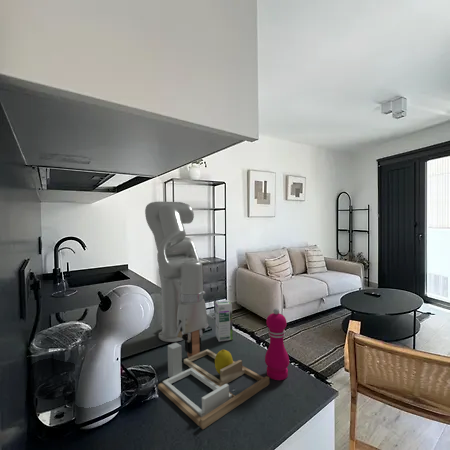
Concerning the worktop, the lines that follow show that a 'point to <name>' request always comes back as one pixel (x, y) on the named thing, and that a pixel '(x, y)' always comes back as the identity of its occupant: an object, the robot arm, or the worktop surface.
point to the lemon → (222, 360)
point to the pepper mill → (276, 347)
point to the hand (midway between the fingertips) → (193, 349)
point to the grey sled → (175, 374)
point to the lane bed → (223, 408)
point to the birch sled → (225, 373)
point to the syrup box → (223, 320)
